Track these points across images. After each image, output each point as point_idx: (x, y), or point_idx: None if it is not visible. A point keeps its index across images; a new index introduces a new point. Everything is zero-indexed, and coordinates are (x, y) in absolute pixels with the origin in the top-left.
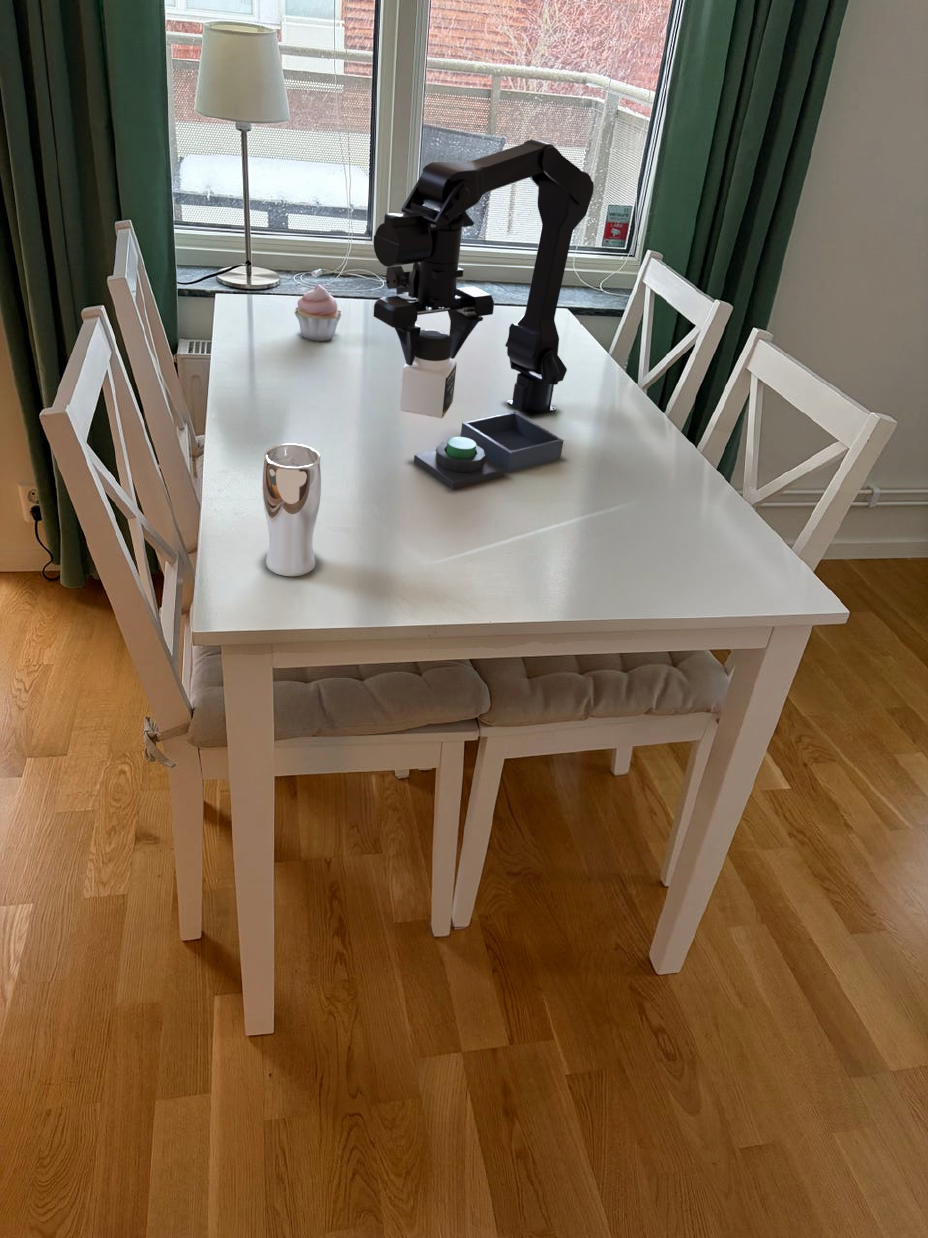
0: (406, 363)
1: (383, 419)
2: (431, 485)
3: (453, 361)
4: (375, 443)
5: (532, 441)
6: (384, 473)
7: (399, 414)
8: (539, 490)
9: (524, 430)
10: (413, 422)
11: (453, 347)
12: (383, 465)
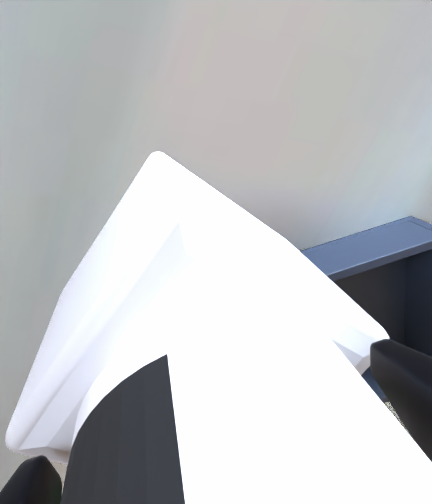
0: (24, 461)
1: (69, 74)
2: None
3: (367, 363)
4: (5, 254)
5: (406, 293)
6: (5, 403)
7: (143, 39)
8: None
9: (418, 273)
10: (172, 121)
11: (428, 439)
12: (9, 370)
